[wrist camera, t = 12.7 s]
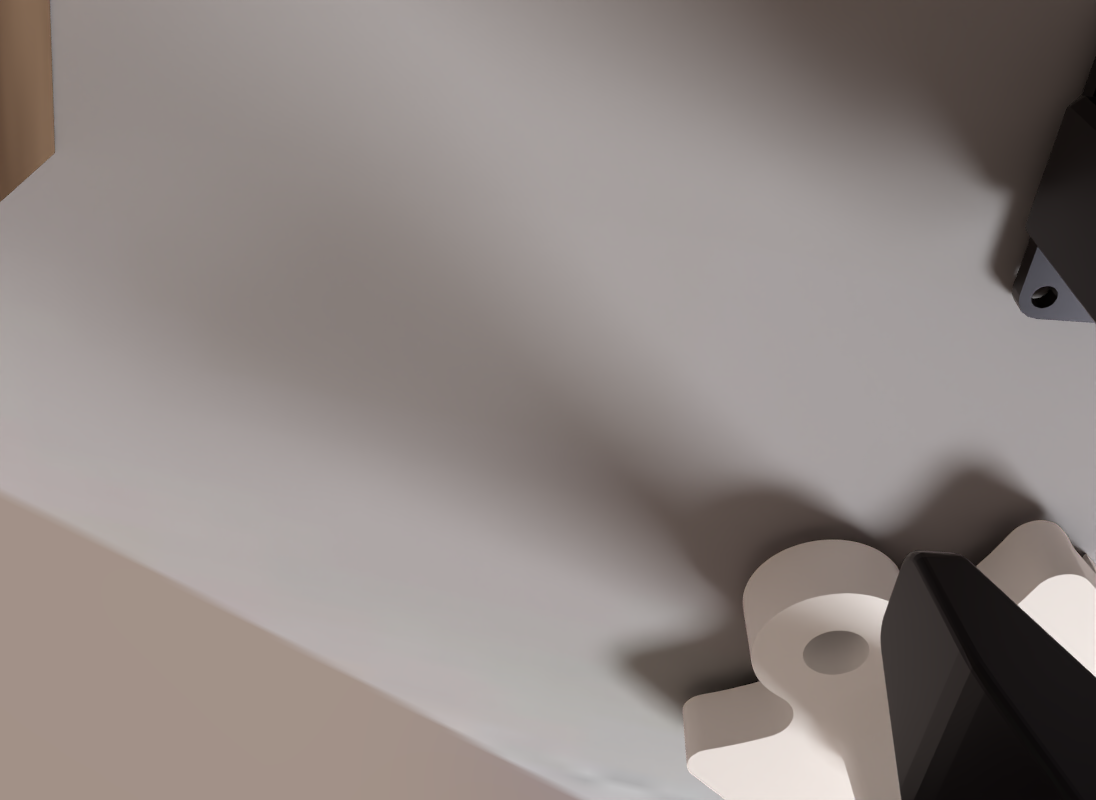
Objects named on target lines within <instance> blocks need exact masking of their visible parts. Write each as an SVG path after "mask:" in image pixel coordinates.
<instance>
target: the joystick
mask: <svg viewBox="0 0 1096 800" xmlns="http://www.w3.org/2000/svg"><path fill="white" fill-rule="evenodd" d="M976 567H977V568H978V569H979V570H980V571H981V572H982V573H983V574H984V575H985V576H987V577H988V578H989V579H990V580H991V581H992V582H993V583H994V584H995V585H996V586H997V587H998V588H1000V589H1001V590H1002V591H1003V592H1004V593H1005V594H1006V595H1007V596H1008V597H1009V598H1010V599H1011V600H1013V601H1014V602H1015V603H1016V604H1017V605H1018V606H1019V607H1020V608H1021V609H1022V610H1023V611H1025V612H1026V613H1027V614H1028V615H1029V616H1030V617H1031V618H1032V619H1033V620H1034V621H1035V622H1036V623H1038V624H1039V625H1040V626H1041V627H1042V628H1043V629H1044V630H1045V631H1046V632H1047V633H1048V634H1049V635H1051V636H1052V637H1053V638H1054V639H1055V640H1056V641H1057V642H1058V643H1059V644H1060V645H1061V646H1062V647H1064V648H1065V649H1066V650H1067V651H1068V652H1069V653H1070V654H1071V655H1072V656H1073V657H1074V658H1076V659H1077V660H1078V661H1079V662H1080V663H1081V664H1082V665H1083V666H1084V667H1085V668H1086V669H1087V670H1089V671H1090V672H1091V673H1092V674H1093V675H1094V676H1095V677H1096V565H1095V563H1094V562H1093V561H1092V560H1091V559H1090V557H1089V556H1088V555H1087V554H1085V555H1084V556H1083V557H1081V556H1080V555H1079V553H1078V552H1077V551H1076V550H1075V549H1074V547H1073V546H1072V544H1071V542H1070V540H1069V538H1068V536H1067V535H1066V533H1065V532H1064V531H1063V530H1062V529H1061V527H1060V526H1059V525H1057V524H1056V523H1053V522H1050V521H1045V520H1037V521H1031V522H1027V523H1025V524H1022V525H1020V526H1019V527H1017V528H1016V529H1014V530H1013V531H1012V532H1011V533H1010V534H1009V535H1008V536H1007V537H1006V538H1005V539H1004V540H1003V541H1002V542H1001V543H1000V544H999V545H998V546H997V547H996V548H995V549H994V550H993V551H992V552H991V553H990V554H989V555H988V556H987V557H986V558H985V559H984V560H982V561H981V562H980V563H979V564H978V565H977V566H976ZM898 574H899V569H898V567H897V566H896V565H895V563H894V562H893V561H892V560H891V559H890V558H889V557H887V556H886V555H885V554H883V553H882V552H880V551H878V550H877V549H875V548H872V547H870V546H868V545H865V544H861V543H858V542H853V541H847V540H818V541H811V542H806V543H802V544H799V545H796V546H793V547H790V548H788V549H785V550H783V551H781V552H779V553H777V554H776V555H774V556H772V557H771V558H769V559H768V560H767V561H765V562H764V563H763V564H762V565H761V566H760V567H759V568H758V569H757V570H756V571H755V572H754V573H753V574H752V576H751V577H750V579H749V581H748V583H747V585H746V587H745V590H744V594H743V610H744V617H745V623H746V630H747V637H748V643H749V650H750V656H751V663H752V667H753V670H754V672H755V674H756V676H757V678H758V679H759V682H756V683H752V684H748V685H744V686H740V687H736V688H732V689H727V690H722V691H718V692H713V693H707V694H702V695H697V696H695V697H692V698H691V699H689V700H688V701H687V702H686V703H685V704H684V706H683V722H684V735H685V747H686V760H687V768H688V771H689V772H690V773H691V774H692V775H693V776H695V777H696V778H697V779H698V780H700V781H701V782H702V783H704V784H705V785H706V786H708V787H709V788H710V789H712V790H713V791H714V792H716V793H717V794H718V795H719V796H721V797H722V798H723V799H725V800H901V796H900V789H899V782H898V774H897V767H896V759H895V752H894V744H893V736H892V729H891V721H890V714H889V706H888V699H887V691H886V684H885V676H884V669H883V661H882V654H881V641H880V635H881V625H882V620H883V617H884V614H885V611H886V608H887V605H888V602H889V600H890V597H891V594H892V591H893V588H894V585H895V582H896V580H897V577H898Z"/></svg>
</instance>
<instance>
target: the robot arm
mask: <svg viewBox="0 0 1096 800" xmlns="http://www.w3.org/2000/svg"><path fill="white" fill-rule="evenodd" d="M1026 231H1027V232H1028V234H1029V235H1030V237H1031V238H1030V241H1029V243H1028V246H1027V249H1026V252H1025V254H1024V257H1023V260H1022V263H1021V266H1020V268H1019V271H1018V274H1017V277H1016V279H1015V282H1014V285H1013V291H1012V295H1013V298H1014V300H1015V302H1016V304H1017V305H1018V307H1019V308H1020V310H1021V311H1022V312H1023V313H1024V314H1025V315H1026V316H1028V317H1032V318H1036V319H1048V320H1062V321H1076V322H1090V323H1096V57H1095V60H1094V63H1093V65H1092V68H1091V71H1090V74H1089V77H1088V79H1087V82H1086V85H1085V88H1084V90H1083V93H1082V96H1080V97H1079V98H1078V99H1077V100H1076V101H1075V102H1073V103H1072V104H1071V105H1070V106H1069V107H1068V108H1067V109H1066V112H1065V115H1064V118H1063V120H1062V123H1061V126H1060V129H1059V132H1058V135H1057V137H1056V140H1055V143H1054V146H1053V149H1052V151H1051V154H1050V157H1049V160H1048V163H1047V166H1046V168H1045V171H1044V174H1043V177H1042V180H1041V183H1040V185H1039V188H1038V191H1037V194H1036V197H1035V199H1034V202H1033V205H1032V208H1031V211H1030V214H1029V216H1028V219H1027V222H1026ZM1045 286H1051V288H1050V290H1049V291H1048V293H1047V294H1046V295H1044V296H1042V297H1041V298H1034V299H1033V298H1032V295H1033V294H1034V292H1035V291H1036V290H1038V289H1039V288H1041V287H1045ZM880 641H881V654H882V661H883V669H884V676H885V684H886V691H887V699H888V706H889V714H890V721H891V729H892V736H893V744H894V752H895V759H896V767H897V774H898V782H899V789H900V796H901V800H1096V677H1095V676H1094V675H1093V674H1092V673H1091V672H1090V671H1089V670H1087V669H1086V668H1085V667H1084V666H1083V665H1082V664H1081V663H1080V662H1079V661H1078V660H1077V659H1076V658H1074V657H1073V656H1072V655H1071V654H1070V653H1069V652H1068V651H1067V650H1066V649H1065V648H1064V647H1062V646H1061V645H1060V644H1059V643H1058V642H1057V641H1056V640H1055V639H1054V638H1053V637H1052V636H1051V635H1049V634H1048V633H1047V632H1046V631H1045V630H1044V629H1043V628H1042V627H1041V626H1040V625H1039V624H1038V623H1036V622H1035V621H1034V620H1033V619H1032V618H1031V617H1030V616H1029V615H1028V614H1027V613H1026V612H1025V611H1023V610H1022V609H1021V608H1020V607H1019V606H1018V605H1017V604H1016V603H1015V602H1014V601H1013V600H1011V599H1010V598H1009V597H1008V596H1007V595H1006V594H1005V593H1004V592H1003V591H1002V590H1001V589H1000V588H998V587H997V586H996V585H995V584H994V583H993V582H992V581H991V580H990V579H989V578H988V577H987V576H985V575H984V574H983V573H982V572H981V571H980V570H979V569H978V568H977V567H976V566H975V565H973V564H972V563H971V562H970V561H969V560H968V559H966V558H965V557H964V556H962V555H960V554H956V553H948V552H934V551H914V552H911V553H909V554H908V555H907V557H906V558H905V559H904V561H903V563H902V565H901V568H900V571H899V574H898V577H897V580H896V582H895V585H894V588H893V591H892V594H891V597H890V600H889V602H888V605H887V608H886V611H885V614H884V617H883V620H882V625H881V635H880Z"/></svg>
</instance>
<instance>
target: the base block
mask: <svg viewBox="0 0 1096 800" xmlns="http://www.w3.org/2000/svg"><path fill="white" fill-rule="evenodd" d="M54 153H55V143H54V114H53V84H52V54H51V24H50V0H0V202H1V201H2V200H3V199H4V198H5V197H6V196H7V195H9V194H10V193H11V192H12V191H13V190H14V189H15V188H16V187H17V186H19V185H20V184H21V183H22V182H23V181H24V180H25V179H26V178H27V177H29V176H30V175H31V174H32V173H33V172H34V171H35V170H36V169H37V168H39V167H40V166H41V165H42V164H43V163H44V162H45V161H46V160H47V159H49V158H50V157H51V156H52V155H53V154H54Z"/></svg>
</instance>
